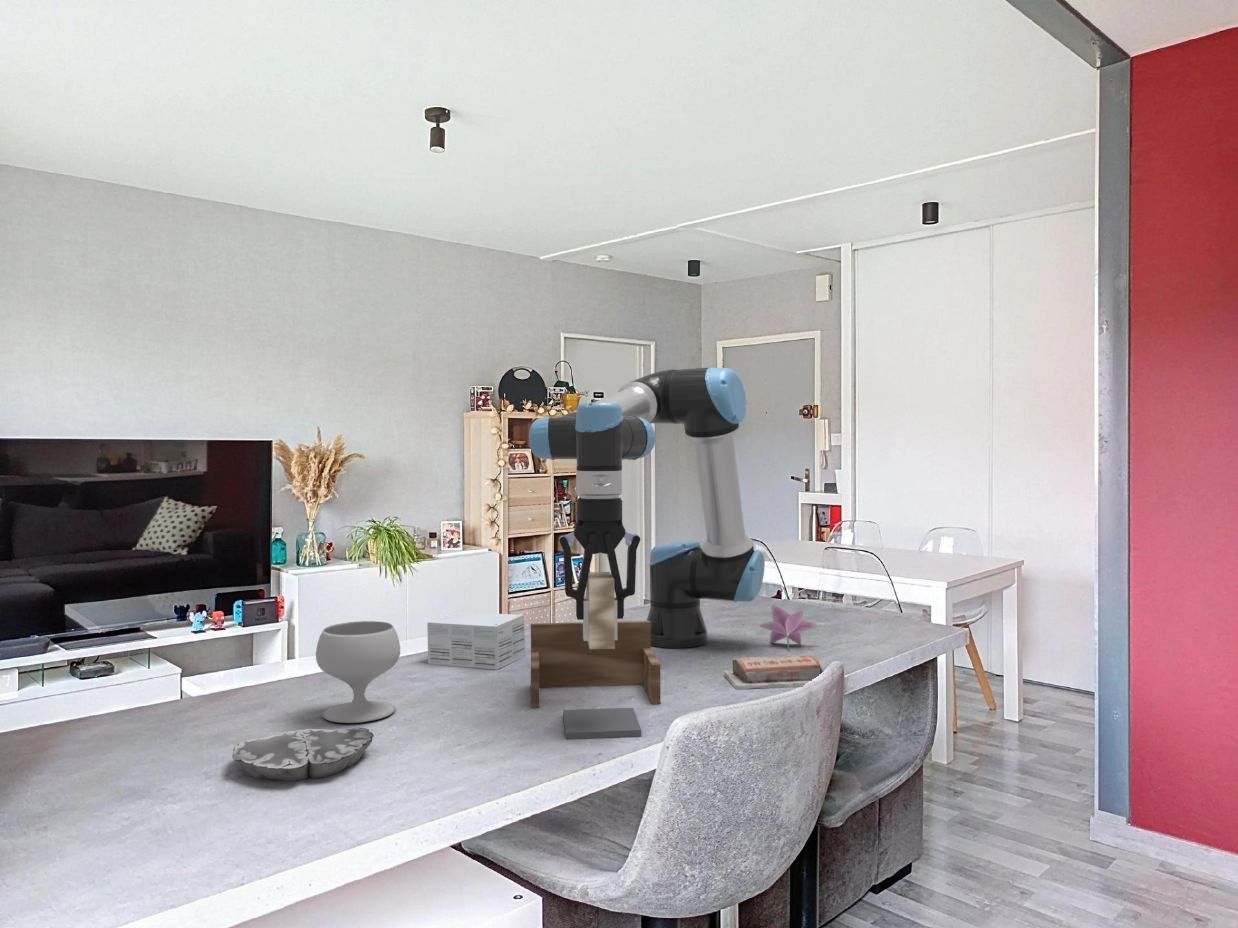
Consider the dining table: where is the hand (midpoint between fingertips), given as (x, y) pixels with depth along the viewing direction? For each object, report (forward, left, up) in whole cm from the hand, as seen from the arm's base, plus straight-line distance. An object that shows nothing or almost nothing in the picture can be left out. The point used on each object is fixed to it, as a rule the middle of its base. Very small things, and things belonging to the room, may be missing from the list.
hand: (600, 638), depth 146 cm
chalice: (-11, -41, -15) cm, 45 cm away
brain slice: (+13, -44, -15) cm, 48 cm away
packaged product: (-24, +36, -15) cm, 45 cm away
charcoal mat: (0, 0, -14) cm, 14 cm away
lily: (-51, +47, -15) cm, 71 cm away
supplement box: (-48, -23, -15) cm, 55 cm away
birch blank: (0, 0, -1) cm, 1 cm away
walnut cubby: (-18, 0, -14) cm, 23 cm away
